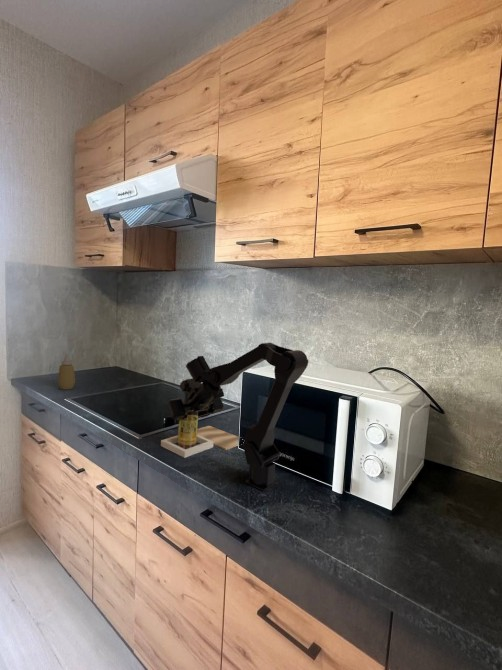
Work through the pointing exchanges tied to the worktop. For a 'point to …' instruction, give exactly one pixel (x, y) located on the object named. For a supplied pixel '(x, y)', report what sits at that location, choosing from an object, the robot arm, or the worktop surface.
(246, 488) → the worktop surface
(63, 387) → the squeeze bottle
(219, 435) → the wooden board
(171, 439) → the collar
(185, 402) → the sauce bottle
